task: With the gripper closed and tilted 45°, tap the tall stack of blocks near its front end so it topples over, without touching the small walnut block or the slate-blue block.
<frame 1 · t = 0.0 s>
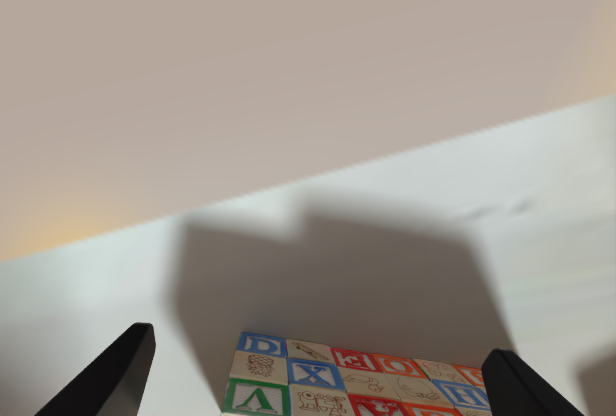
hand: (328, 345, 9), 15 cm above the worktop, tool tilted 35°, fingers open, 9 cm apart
stack of blocks: (381, 395, 25), on the worktop
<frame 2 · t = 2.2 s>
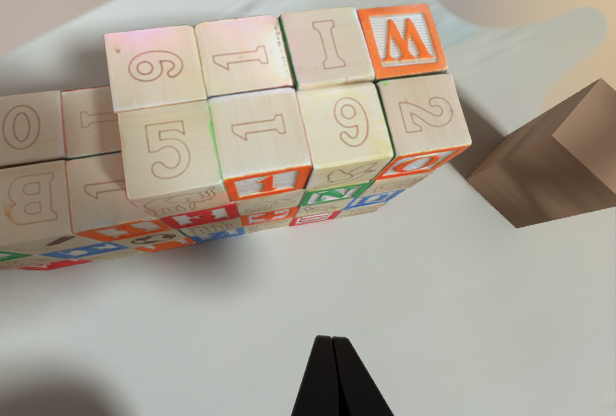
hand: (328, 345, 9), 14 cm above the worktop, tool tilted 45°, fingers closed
walnut block: (510, 181, 26), on the worktop
stack of blocks: (215, 196, 24), on the worktop
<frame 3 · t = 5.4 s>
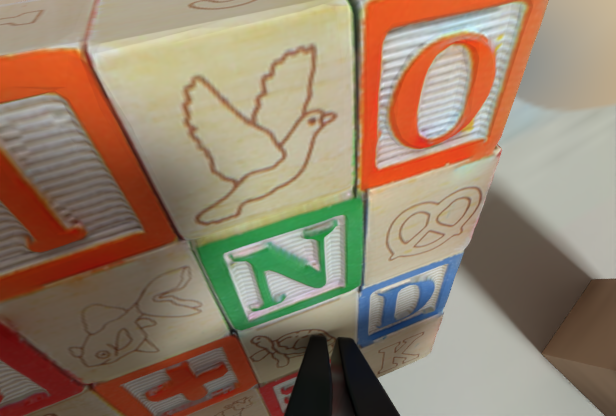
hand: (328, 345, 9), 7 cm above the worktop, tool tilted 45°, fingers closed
walnut block: (605, 351, 18), on the worktop
stack of blocks: (138, 390, 13), point 2 cm above the worktop, touching gripper
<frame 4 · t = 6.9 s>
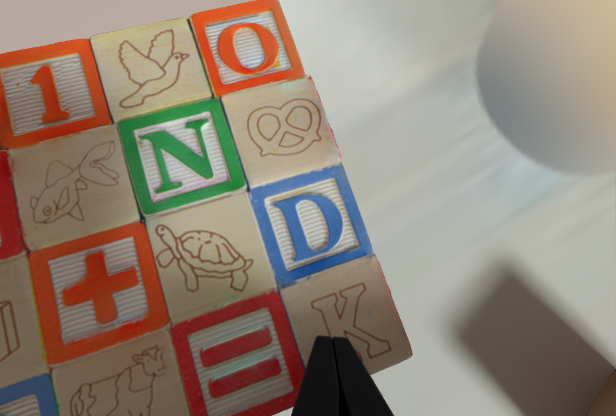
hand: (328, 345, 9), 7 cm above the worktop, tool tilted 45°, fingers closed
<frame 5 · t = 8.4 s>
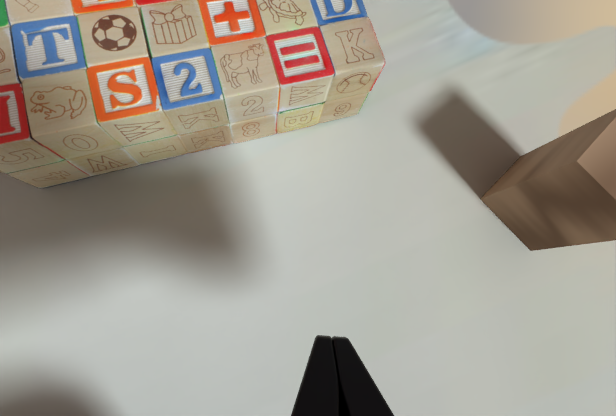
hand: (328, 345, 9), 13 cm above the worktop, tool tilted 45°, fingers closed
walnut block: (525, 202, 26), on the worktop
stack of blocks: (205, 134, 20), point 3 cm above the worktop
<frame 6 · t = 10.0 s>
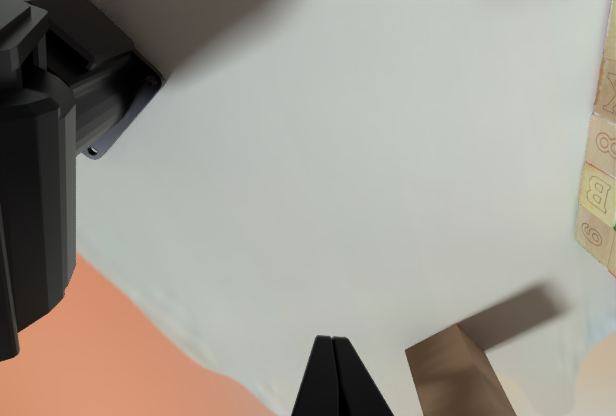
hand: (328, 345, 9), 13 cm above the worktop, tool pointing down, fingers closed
walnut block: (444, 350, 31), on the worktop
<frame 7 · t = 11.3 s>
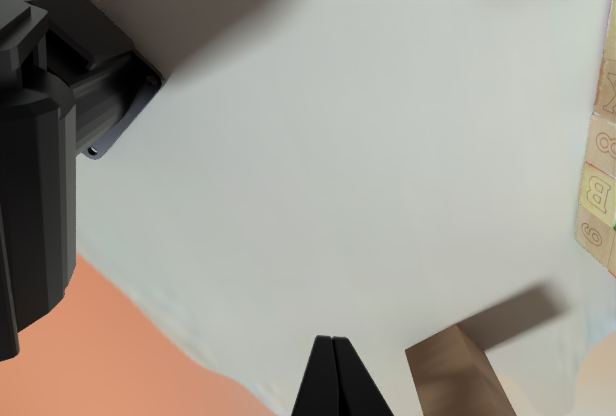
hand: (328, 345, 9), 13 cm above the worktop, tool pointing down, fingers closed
walnut block: (444, 350, 31), on the worktop
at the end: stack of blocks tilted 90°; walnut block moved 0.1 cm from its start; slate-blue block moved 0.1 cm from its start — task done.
